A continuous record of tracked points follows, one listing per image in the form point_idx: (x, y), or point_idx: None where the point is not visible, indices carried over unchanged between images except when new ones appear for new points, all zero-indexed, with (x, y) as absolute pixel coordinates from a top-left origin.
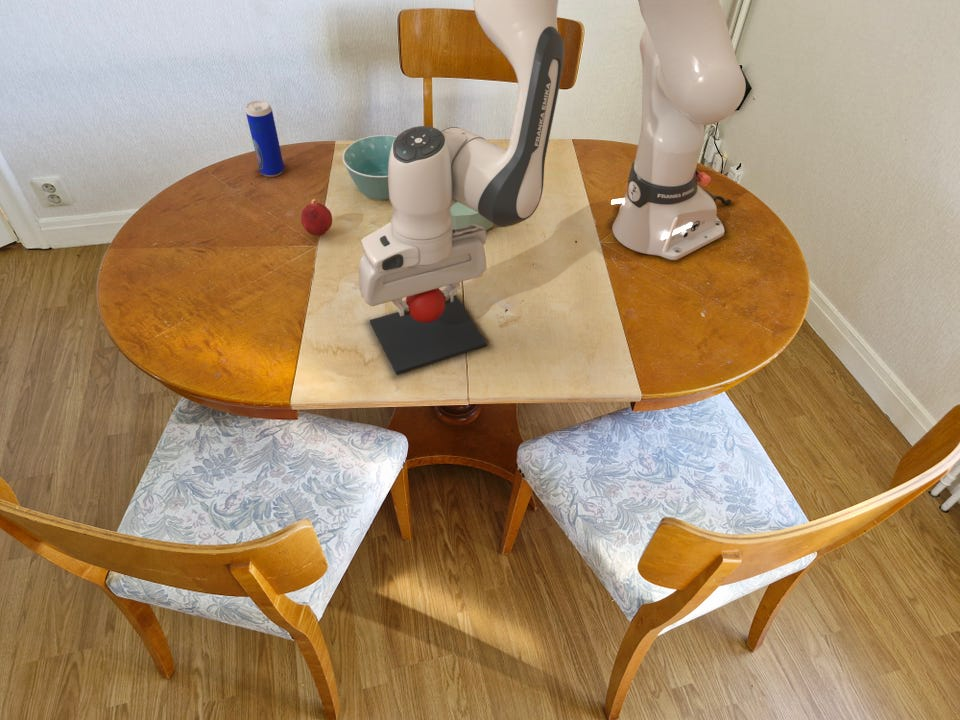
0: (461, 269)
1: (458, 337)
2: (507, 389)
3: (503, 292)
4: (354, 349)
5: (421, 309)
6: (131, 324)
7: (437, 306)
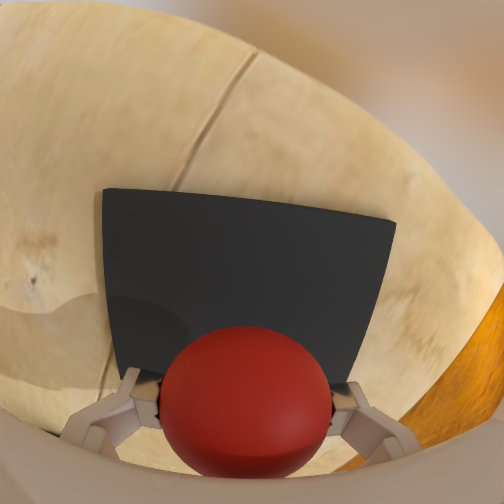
0: (15, 501)
1: (167, 253)
2: (153, 25)
3: (31, 328)
4: (405, 337)
5: (309, 388)
6: (486, 418)
7: (222, 377)
